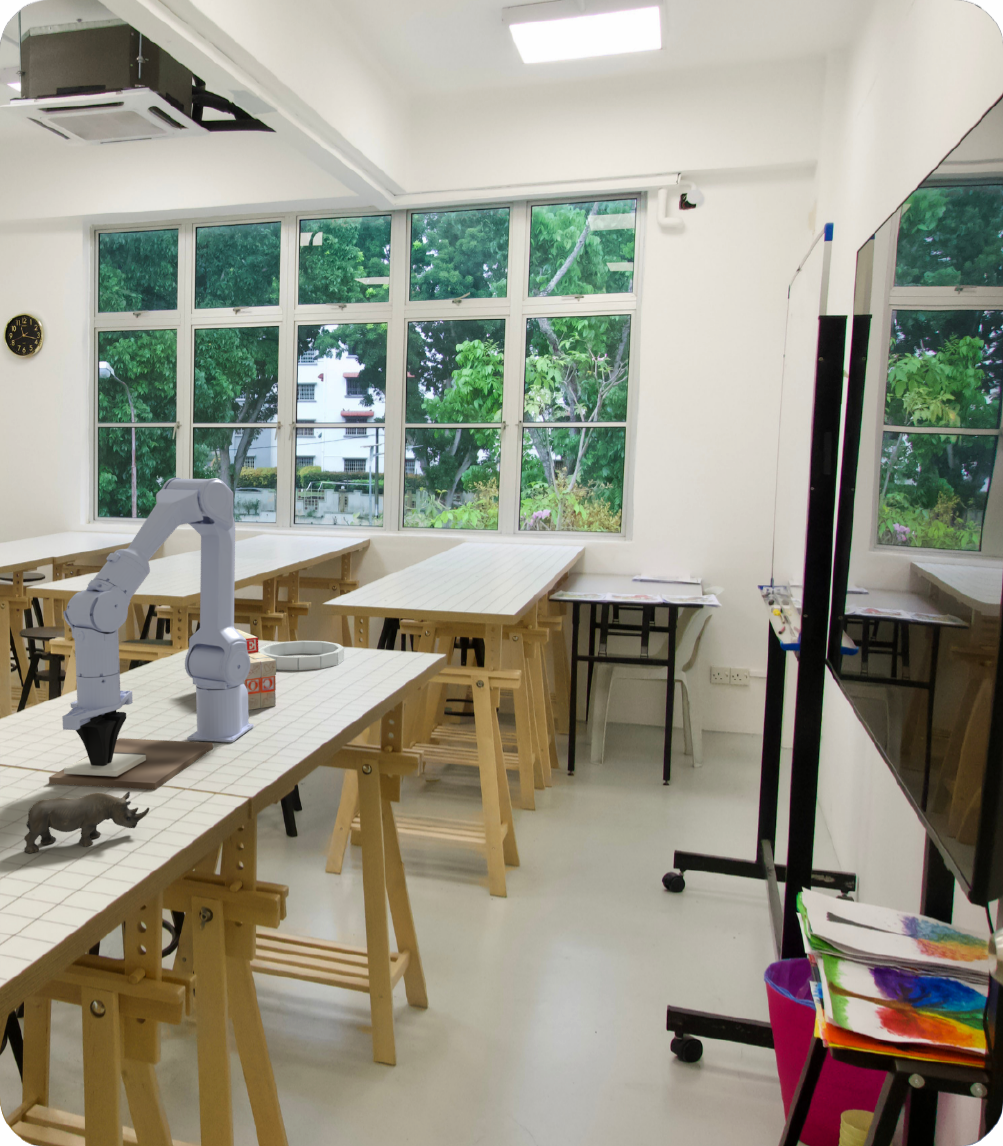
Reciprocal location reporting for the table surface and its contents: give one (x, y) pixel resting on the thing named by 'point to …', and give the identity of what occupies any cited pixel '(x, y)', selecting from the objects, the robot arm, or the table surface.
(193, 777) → the table surface
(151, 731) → the table surface
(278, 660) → the shell dish rim
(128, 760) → the tile
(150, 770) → the board
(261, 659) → the stack of blocks
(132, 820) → the rhino figurine
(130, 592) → the robot arm
